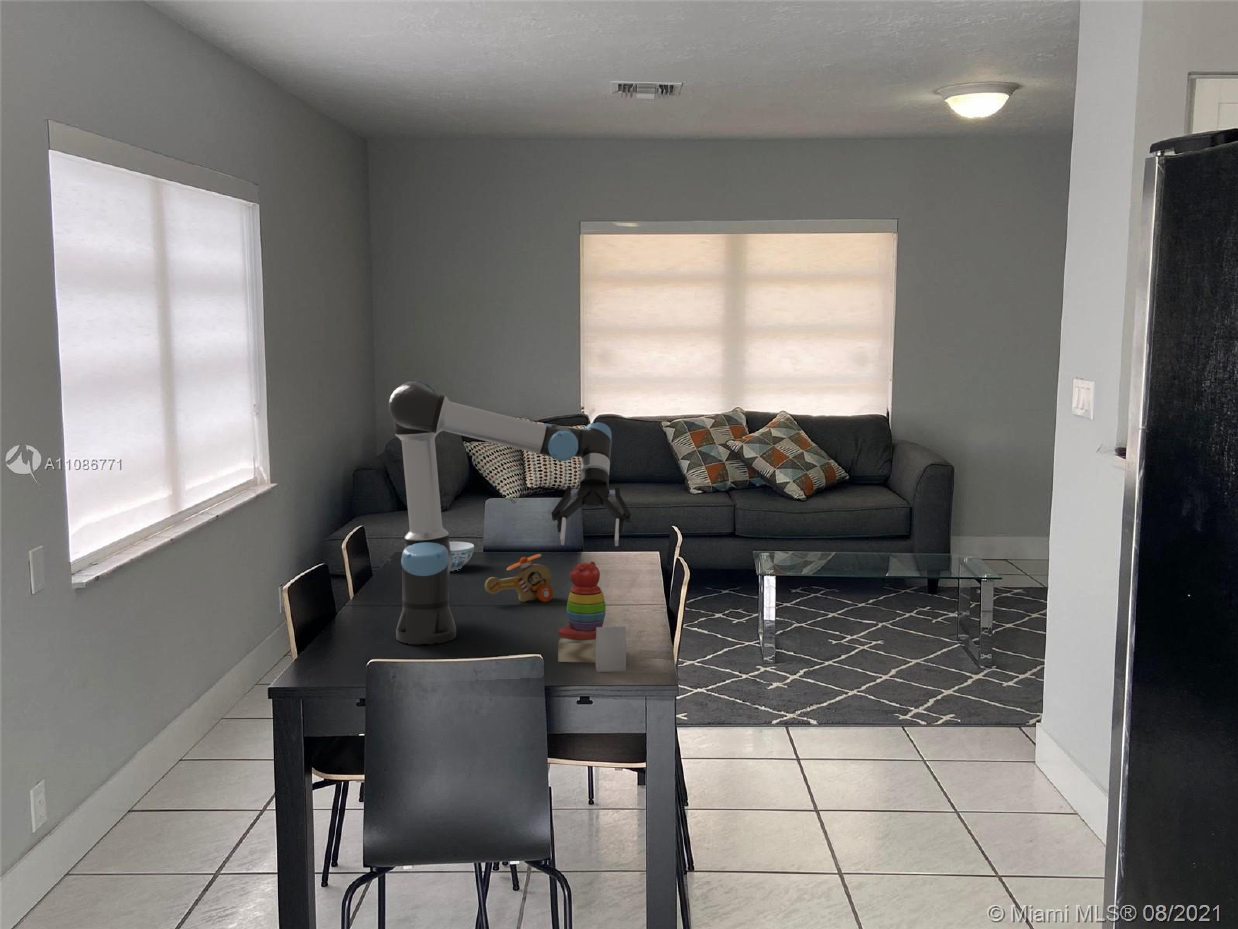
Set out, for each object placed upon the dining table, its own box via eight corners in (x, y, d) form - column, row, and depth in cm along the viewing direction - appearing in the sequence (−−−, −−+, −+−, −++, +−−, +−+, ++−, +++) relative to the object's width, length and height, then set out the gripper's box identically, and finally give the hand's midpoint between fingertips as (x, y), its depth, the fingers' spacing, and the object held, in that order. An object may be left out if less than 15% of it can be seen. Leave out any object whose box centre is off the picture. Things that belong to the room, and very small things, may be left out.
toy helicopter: (556, 600, 317) (556, 554, 315) (491, 609, 306) (491, 561, 304) (543, 595, 324) (543, 549, 322) (479, 603, 313) (479, 556, 311)
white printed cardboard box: (626, 671, 251) (626, 629, 250) (596, 672, 250) (597, 629, 249) (624, 666, 255) (624, 624, 253) (595, 667, 254) (595, 625, 253)
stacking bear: (582, 626, 270) (582, 556, 268) (614, 633, 264) (615, 561, 262) (554, 636, 261) (554, 563, 259) (588, 643, 255) (588, 569, 253)
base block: (558, 661, 258) (558, 641, 257) (563, 647, 270) (563, 627, 269) (608, 663, 257) (608, 642, 256) (611, 648, 269) (612, 628, 268)
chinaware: (473, 573, 352) (472, 550, 351) (426, 574, 351) (426, 550, 350) (475, 563, 367) (475, 541, 366) (430, 564, 365) (430, 541, 365)
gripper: (642, 484, 286) (639, 551, 273) (548, 482, 288) (541, 549, 275) (642, 466, 280) (638, 535, 267) (546, 465, 282) (538, 533, 269)
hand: (589, 542), depth 271 cm, fingers open, 13 cm apart
